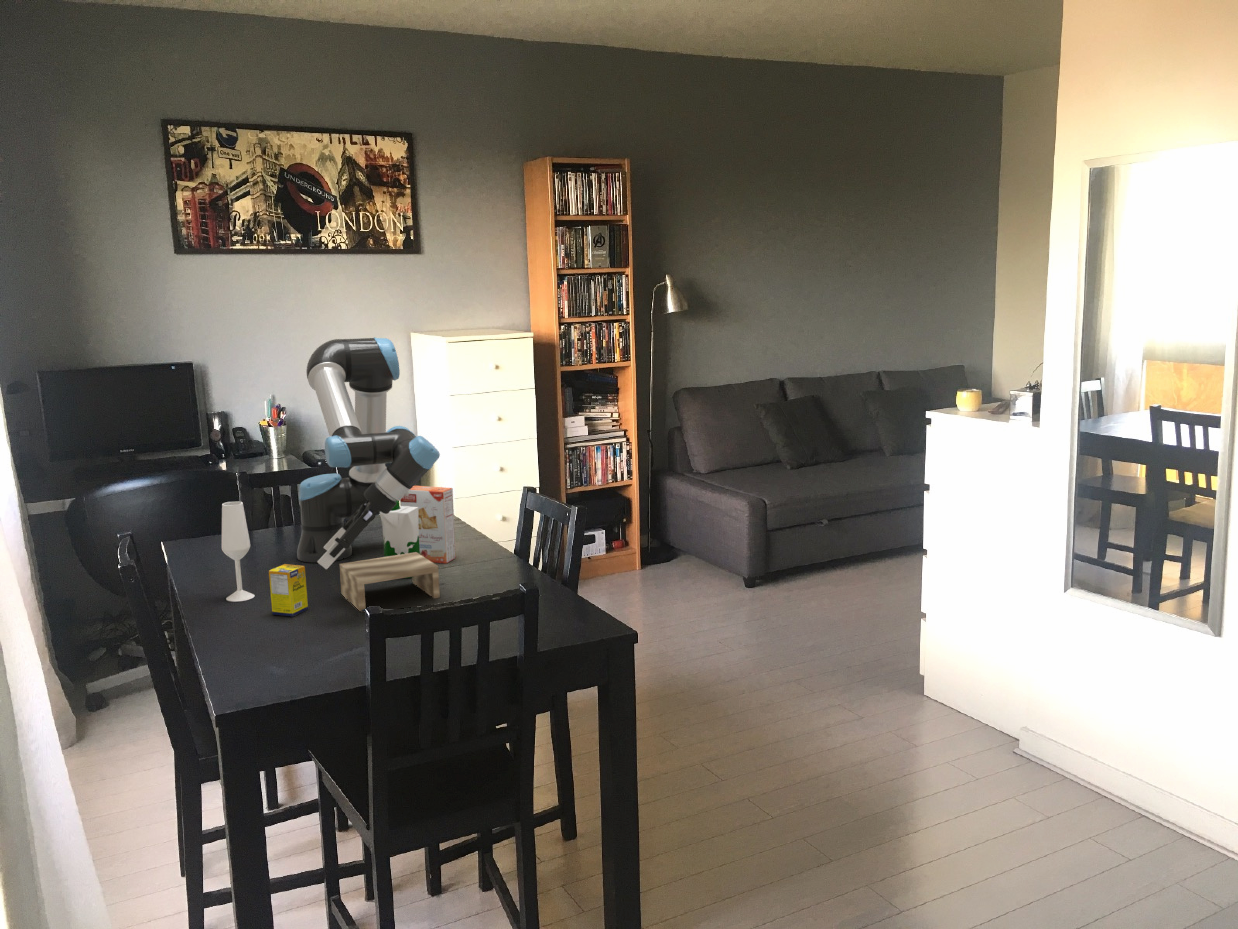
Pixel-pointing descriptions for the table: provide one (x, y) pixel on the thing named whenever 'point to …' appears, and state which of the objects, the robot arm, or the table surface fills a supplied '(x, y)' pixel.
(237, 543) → the champagne flute
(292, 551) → the table surface
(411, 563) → the oak shelf
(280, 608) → the supplement box
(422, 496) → the cracker box
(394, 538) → the milk carton
